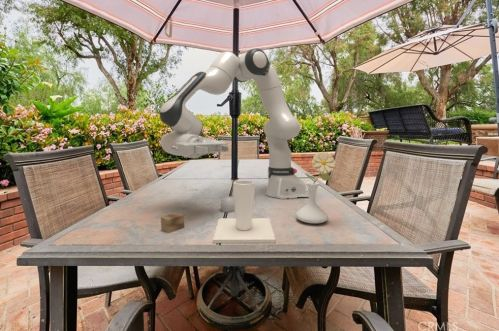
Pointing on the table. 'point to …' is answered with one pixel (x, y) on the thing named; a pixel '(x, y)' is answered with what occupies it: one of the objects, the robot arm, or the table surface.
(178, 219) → the walnut block
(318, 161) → the flower in vase
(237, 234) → the cream tile
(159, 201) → the table surface
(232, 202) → the grey plastic tub
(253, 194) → the drinking glass
